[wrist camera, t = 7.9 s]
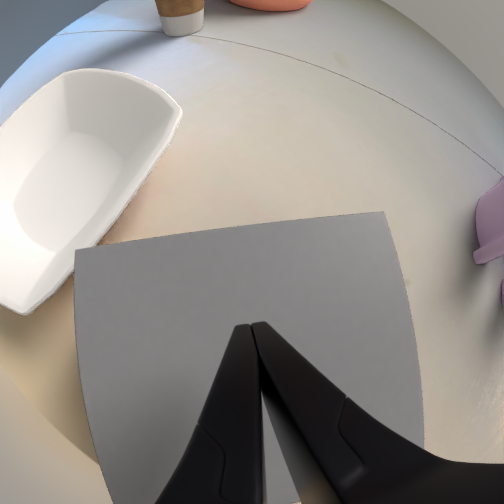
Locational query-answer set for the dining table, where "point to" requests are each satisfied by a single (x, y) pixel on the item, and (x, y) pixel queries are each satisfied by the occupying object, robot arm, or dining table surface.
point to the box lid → (221, 327)
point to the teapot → (273, 4)
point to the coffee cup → (181, 16)
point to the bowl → (73, 173)
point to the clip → (490, 226)
